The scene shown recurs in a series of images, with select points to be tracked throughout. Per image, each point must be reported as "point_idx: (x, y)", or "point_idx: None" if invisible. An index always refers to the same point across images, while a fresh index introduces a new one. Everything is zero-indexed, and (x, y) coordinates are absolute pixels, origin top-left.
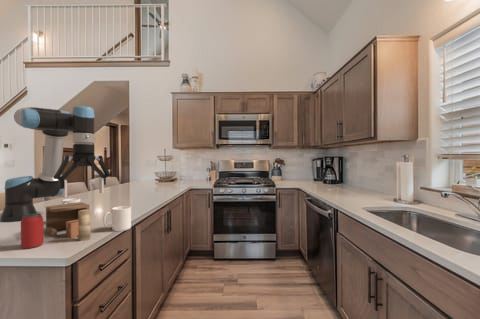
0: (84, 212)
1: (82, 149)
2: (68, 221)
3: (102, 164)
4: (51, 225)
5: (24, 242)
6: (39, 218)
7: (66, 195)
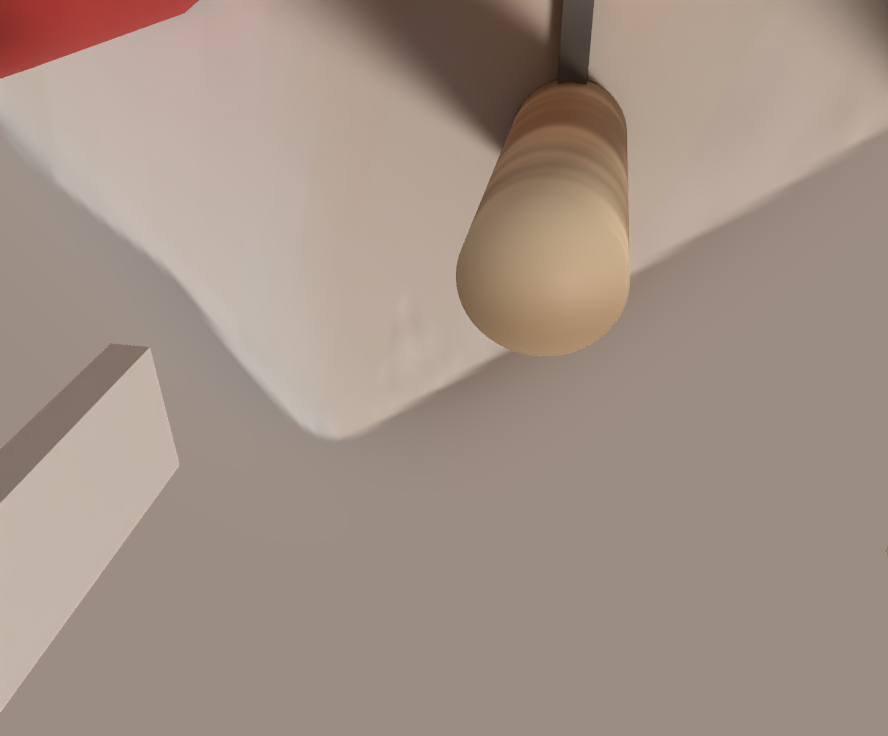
0: (512, 343)
1: None
2: None
3: None
4: None
5: None
6: (8, 55)
7: (153, 483)
